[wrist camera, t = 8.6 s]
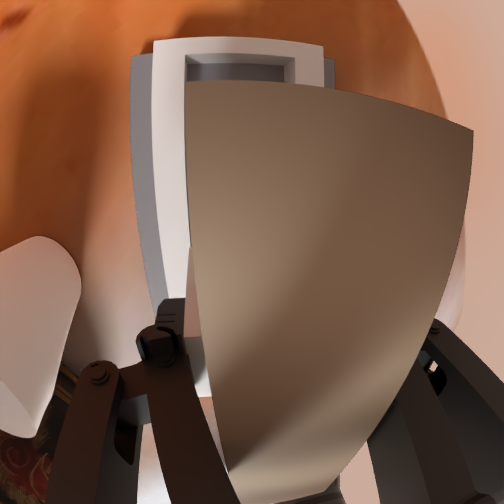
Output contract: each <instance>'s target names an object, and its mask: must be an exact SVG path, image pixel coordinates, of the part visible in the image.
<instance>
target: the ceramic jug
mask: <svg viewBox="0 0 504 504" xmlns="http://www.w3.org/2000/svg"><path fill="white" fill-rule="evenodd" d="M77 382H78V379H77V378H76V377H75V375H74V374H73V373H72V372H71V371H70V370H69V369H67V368H66V367H65V366H64V365H63V364H62V362H60V365H59V370H58V374H57V379H56V383H55V388H54V391H53V395H52V398H51V400H50V401H49V403H48V405H47V407H46V410H45V412H44V414H43V417H42V419H41V422H40V425H39V427H38V430H37V433H36V435H35V436H34V437H32V438H22V437H18V436H15V435H12V434H10V433H7V432H5V431H3V430H1V429H0V504H44V502H45V496H46V491H47V485H48V480H49V476H50V471H51V467H52V462H53V458H54V454H55V450H56V447H57V443H58V439H59V436H60V432H61V429H62V426H63V423H64V419H65V416H66V413H67V410H68V407H69V404H70V401H71V398H72V396H73V393H74V390H75V387H76V385H77Z"/></svg>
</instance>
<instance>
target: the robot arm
mask: <svg viewBox="0 0 504 504" xmlns="http://www.w3.org/2000/svg"><path fill="white" fill-rule="evenodd" d="M156 315H157V316H156V320H155V325H151V326H148V327H146V328H145V329H143V330H142V331H141V332H140V333H139V334H138V335H137V338H136V345H137V348H138V350H139V353H140V356H141V359H142V361H141V362H139V363H137V364H135V365H132V366H128V367H125V368H120V369H118V368H117V366H116V365H115V364H113V363H112V362H109V361H105V360H102V361H96V362H93V363H90V364H89V365H88V366H86V367H85V368H84V369H83V371H82V372H81V374H80V377H79V379H78V382H77V385H76V387H75V390H74V393H73V396H72V398H71V401H70V404H69V407H68V410H67V413H66V416H65V419H64V423H63V426H62V429H61V432H60V436H59V439H58V443H57V447H56V450H55V454H54V458H53V462H52V467H51V471H50V476H49V480H48V485H47V491H46V496H45V502H44V504H137V489H138V473H139V461H140V450H141V441H142V432H143V425H144V424H148V423H152V429H153V434H154V439H155V443H156V448H157V453H158V457H159V461H160V465H161V469H162V473H163V477H164V480H165V484H166V488H167V491H168V494H169V498H170V501H171V504H241V503H240V501H239V499H238V497H237V495H236V492H235V490H234V488H233V486H232V484H231V481H230V479H229V477H228V474H227V472H226V470H225V467H224V465H223V463H222V460H221V458H220V455H219V453H218V450H217V448H216V445H215V443H214V440H213V437H212V435H211V432H210V429H209V427H208V424H207V421H206V418H205V415H204V413H203V410H202V407H201V404H200V401H199V398H198V395H197V394H199V393H211V389H210V384H209V378H208V372H207V366H206V359H205V353H204V346H203V340H202V332H201V325H200V318H199V310H198V302H197V293H196V285H195V275H194V266H193V255H192V247H191V248H189V256H188V268H187V282H186V297H185V298H169V299H164V300H163V301H162V302H161V303H160V305H159V306H158V309H157V314H156ZM433 361H435V362H436V363H437V365H438V366H437V368H436V370H435V371H434V372H433V371H431V370H430V369H429V368H430V367H431V365H432V363H433ZM367 443H368V448H369V452H370V456H371V461H372V465H373V469H374V474H375V479H376V484H377V488H378V493H379V498H380V504H504V383H503V382H502V381H501V380H500V379H499V378H498V377H497V376H496V375H495V374H494V373H493V371H492V370H491V369H490V368H489V367H488V366H487V365H486V364H485V363H484V362H483V361H482V360H481V359H480V358H479V357H478V356H477V355H476V354H475V353H474V352H473V351H472V350H471V349H470V348H469V347H468V346H467V345H466V344H465V343H464V342H462V340H460V339H459V338H458V337H457V336H456V335H455V334H454V333H453V332H452V331H451V330H450V329H449V328H448V327H447V326H446V325H444V324H443V323H442V322H441V321H439V320H437V319H435V318H434V320H433V322H432V324H431V327H430V329H429V332H428V334H427V336H426V338H425V341H424V343H423V345H422V347H421V349H420V351H419V353H418V356H417V358H416V360H415V362H414V364H413V366H412V367H411V369H410V371H409V373H408V375H407V377H406V379H405V381H404V382H403V384H402V386H401V388H400V390H399V391H398V393H397V395H396V396H395V398H394V400H393V401H392V403H391V405H390V406H389V408H388V409H387V411H386V413H385V414H384V416H383V417H382V419H381V420H380V422H379V423H378V425H377V426H376V428H375V429H374V431H373V432H372V433H371V435H370V436H369V438H368V439H367ZM274 504H346V503H345V500H344V498H343V496H342V494H341V491H340V474H339V475H338V477H337V478H336V479H335V480H334V481H333V482H332V483H331V484H330V485H329V487H328V488H327V489H326V490H325V491H324V492H320V493H317V494H313V495H309V496H306V497H302V498H297V499H293V500H289V501H284V502H279V503H274Z"/></svg>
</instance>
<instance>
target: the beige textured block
mask: <svg viewBox="0 0 504 504" xmlns="http://www.w3.org/2000/svg"><path fill="white" fill-rule="evenodd" d="M185 131H186V166H187V187H188V204H189V219H190V232H191V244H192V255H193V266H194V275H195V285H196V293H197V302H198V310H199V318H200V325H201V332H202V340H203V346H204V353H205V359H206V366H207V372H208V378H209V384H210V389H211V395H212V400H213V406H214V411H215V416H216V421H217V426H218V431H219V436H220V440H221V445H222V449H223V454H224V458H225V463H226V467H227V471H228V475H229V479H230V481H231V484H232V486H233V488H234V490H235V492H236V495H237V497H238V499H239V501H240V503H241V504H274V503H279V502H284V501H289V500H293V499H297V498H302V497H306V496H309V495H313V494H317V493H320V492H324V491H325V490H326V489H327V488H328V487H329V485H330V484H331V483H332V482H333V481H334V480H335V479H336V478H337V477H338V475H339V474H340V473H341V472H342V471H343V470H344V468H345V467H346V466H347V465H348V464H349V462H350V461H351V460H352V458H353V457H354V456H355V455H356V454H357V452H358V451H359V450H360V448H361V447H362V446H363V444H364V443H365V442H366V440H367V439H368V438H369V436H370V435H371V433H372V432H373V431H374V429H375V428H376V426H377V425H378V423H379V422H380V420H381V419H382V417H383V416H384V414H385V413H386V411H387V409H388V408H389V406H390V405H391V403H392V401H393V400H394V398H395V396H396V395H397V393H398V391H399V390H400V388H401V386H402V384H403V382H404V381H405V379H406V377H407V375H408V373H409V371H410V369H411V367H412V366H413V364H414V362H415V360H416V358H417V356H418V353H419V351H420V349H421V347H422V345H423V343H424V341H425V338H426V336H427V334H428V332H429V329H430V327H431V324H432V322H433V320H434V317H435V315H436V312H437V309H438V307H439V304H440V301H441V299H442V296H443V293H444V290H445V287H446V284H447V281H448V278H449V275H450V271H451V268H452V265H453V261H454V257H455V254H456V250H457V246H458V242H459V238H460V234H461V229H462V224H463V220H464V214H465V209H466V203H467V197H468V190H469V183H470V175H471V165H472V152H473V130H470V129H468V128H466V127H464V126H461V125H459V124H457V123H454V122H452V121H449V120H447V119H444V118H441V117H439V116H436V115H433V114H430V113H427V112H424V111H421V110H418V109H415V108H412V107H409V106H406V105H402V104H399V103H395V102H392V101H388V100H384V99H380V98H376V97H372V96H367V95H363V94H358V93H353V92H348V91H343V90H337V89H331V88H325V87H318V86H311V85H303V84H294V83H283V82H269V81H247V80H212V81H190V82H185Z"/></svg>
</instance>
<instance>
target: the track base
mask: <svg viewBox="0 0 504 504" xmlns="http://www.w3.org/2000/svg"><path fill="white" fill-rule="evenodd" d="M212 80H247V81H269V82H283V83H294V84H303V85H311V86H318V87H325V88H331V89H335V64H334V59H330V58H324V56H323V46H319V45H313V44H307V43H301V42H294V41H287V40H278V39H267V38H254V37H190V38H177V39H167V40H158V41H154V45H153V53H148V54H141V55H135V56H131V73H130V143H131V162H132V175H133V187H134V197H135V206H136V215H137V223H138V230H139V237H140V244H141V250H142V256H143V262H144V267H145V273H146V278H147V283H148V288H149V293H150V298H151V303H152V307H153V311H154V316H155V320H156V316H157V315H156V314H157V309H158V306H159V305H160V303H161V302H162V301H163V300H164V299H169V298H185V297H186V282H187V268H188V256H189V248H191V247H192V244H191V232H190V219H189V204H188V187H187V166H186V131H185V82H190V81H212ZM197 395H198V397H206V396H212V395H211V393H199V394H197Z"/></svg>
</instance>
